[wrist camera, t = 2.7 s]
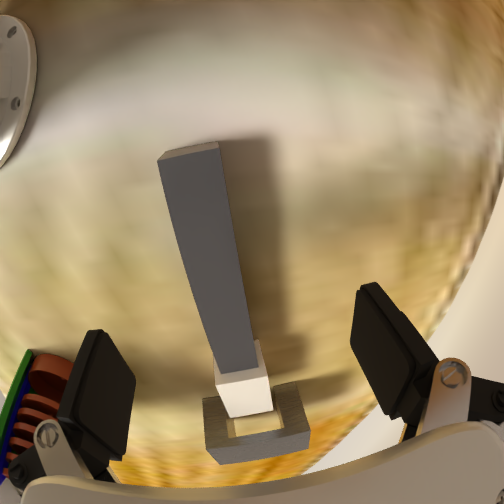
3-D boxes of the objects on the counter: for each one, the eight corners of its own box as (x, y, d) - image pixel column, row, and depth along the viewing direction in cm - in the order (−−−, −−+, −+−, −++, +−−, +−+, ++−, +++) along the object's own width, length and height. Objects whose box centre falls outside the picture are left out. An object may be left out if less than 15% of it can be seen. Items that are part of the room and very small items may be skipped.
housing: (202, 398, 26) (205, 449, 21) (294, 381, 27) (310, 430, 22) (215, 421, 29) (220, 464, 24) (295, 406, 30) (308, 448, 25)
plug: (157, 153, 15) (142, 167, 11) (225, 139, 15) (232, 148, 11) (225, 384, 26) (230, 418, 22) (265, 377, 26) (273, 410, 22)
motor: (104, 370, 23) (86, 563, 5) (106, 409, 26) (98, 556, 9) (19, 340, 20) (-32, 508, 2) (34, 385, 23) (6, 521, 6)
